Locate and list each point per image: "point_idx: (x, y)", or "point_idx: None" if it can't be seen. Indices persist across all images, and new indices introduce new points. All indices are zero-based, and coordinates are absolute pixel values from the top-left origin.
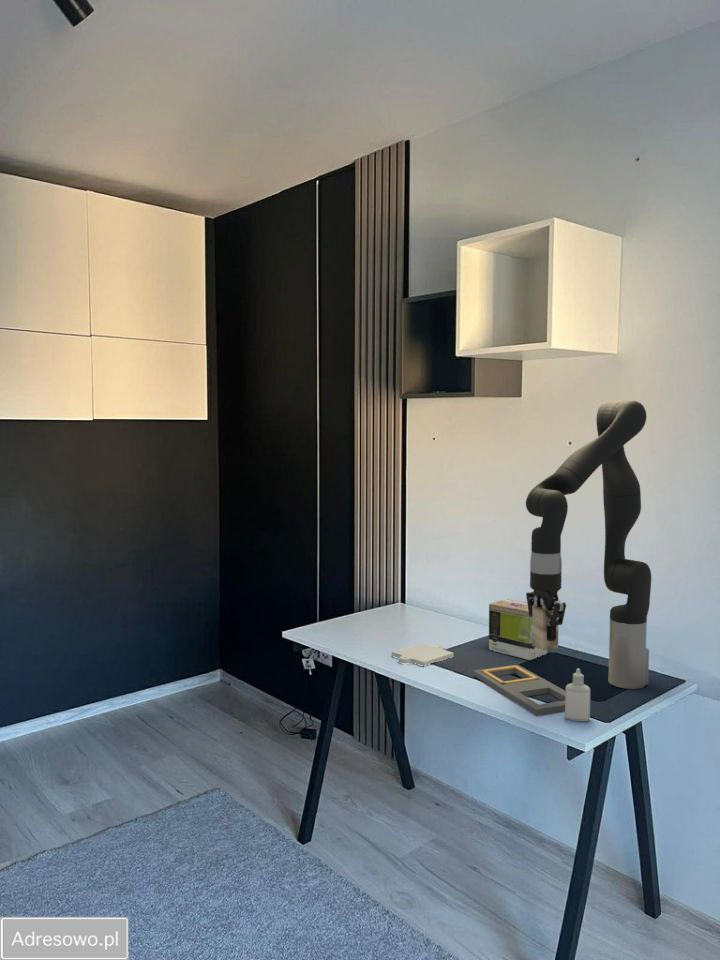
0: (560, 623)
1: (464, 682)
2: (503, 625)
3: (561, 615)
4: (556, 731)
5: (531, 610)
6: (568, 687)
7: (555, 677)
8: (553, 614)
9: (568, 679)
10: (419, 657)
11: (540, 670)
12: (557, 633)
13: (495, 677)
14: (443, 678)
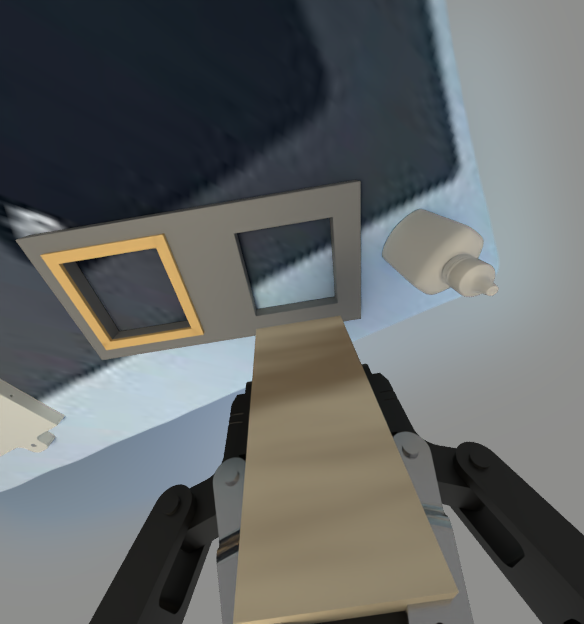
0: (490, 463)
1: (155, 374)
2: None
3: (574, 551)
4: (434, 305)
5: (201, 568)
6: (438, 292)
7: (88, 136)
8: (524, 585)
9: (104, 91)
10: (23, 427)
11: (13, 157)
12: (362, 370)
13: (162, 337)
14: (133, 399)
